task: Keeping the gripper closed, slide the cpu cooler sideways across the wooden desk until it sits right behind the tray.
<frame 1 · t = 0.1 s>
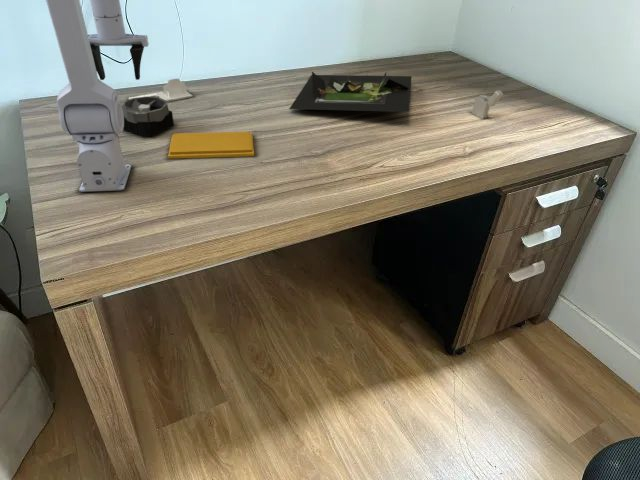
hand: (120, 78, 112), 10 cm above the table, tool pointing down, fingers open, 7 cm apart
cpu cooler: (148, 127, 115), on the table
tray: (212, 147, 108), on the table
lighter: (483, 118, 129), on the table
black plate with food: (354, 100, 135), on the table
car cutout: (161, 98, 130), on the table
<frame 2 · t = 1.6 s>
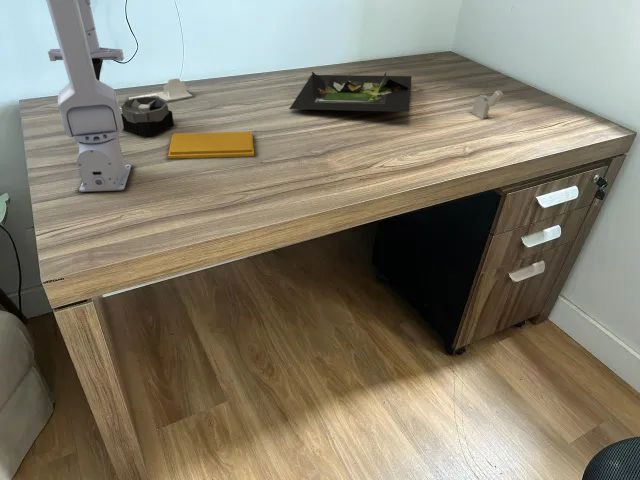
hand: (95, 93, 109), 8 cm above the table, tool pointing down, fingers closed
nothing on the table moved.
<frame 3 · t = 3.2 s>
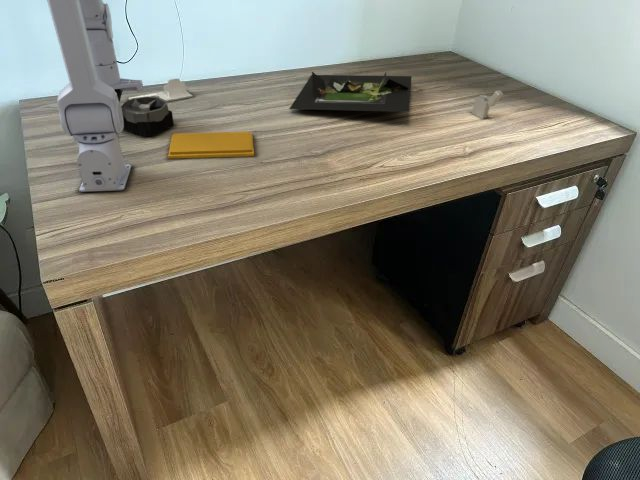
hand: (115, 121, 113), 2 cm above the table, tool pointing down, fingers closed
cpu cooler: (148, 127, 115), on the table, touching gripper
everything else where it was.
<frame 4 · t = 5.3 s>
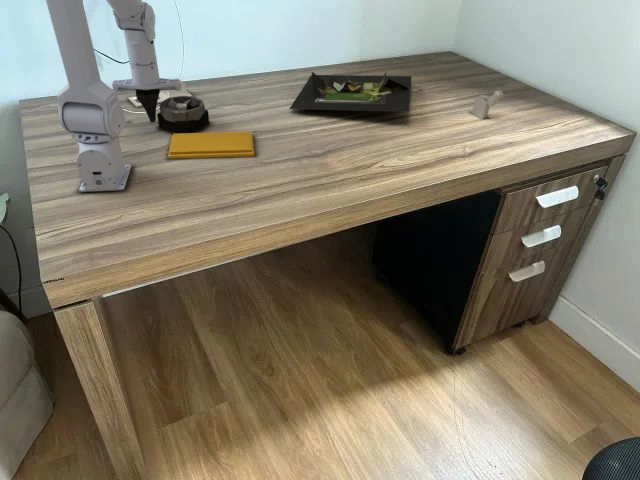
hand: (153, 120, 115), 2 cm above the table, tool pointing down, fingers closed
cpu cooler: (184, 126, 117), on the table, touching gripper
everything else where it was.
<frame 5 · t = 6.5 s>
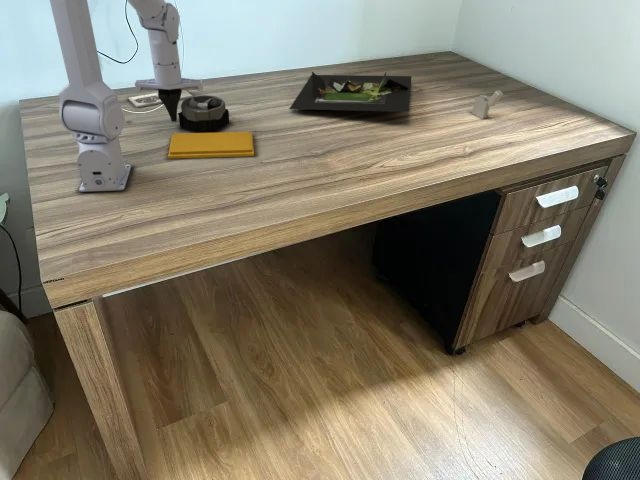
hand: (174, 120, 115), 2 cm above the table, tool pointing down, fingers closed
cpu cooler: (205, 126, 118), on the table, touching gripper
everything else where it was.
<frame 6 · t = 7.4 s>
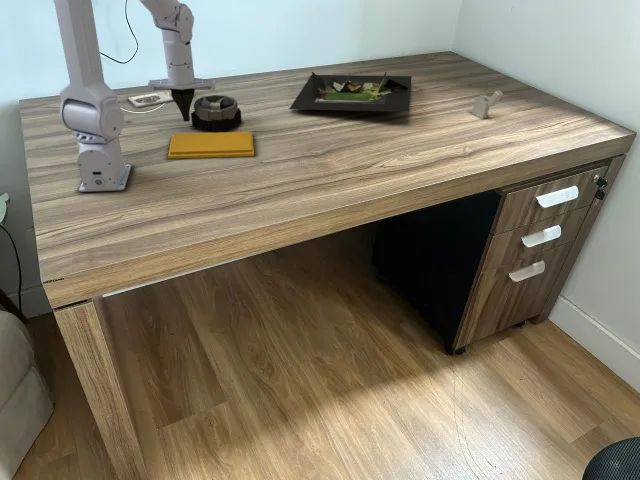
hand: (186, 119, 116), 2 cm above the table, tool pointing down, fingers closed
cpu cooler: (217, 125, 118), on the table, touching gripper
everything else where it was.
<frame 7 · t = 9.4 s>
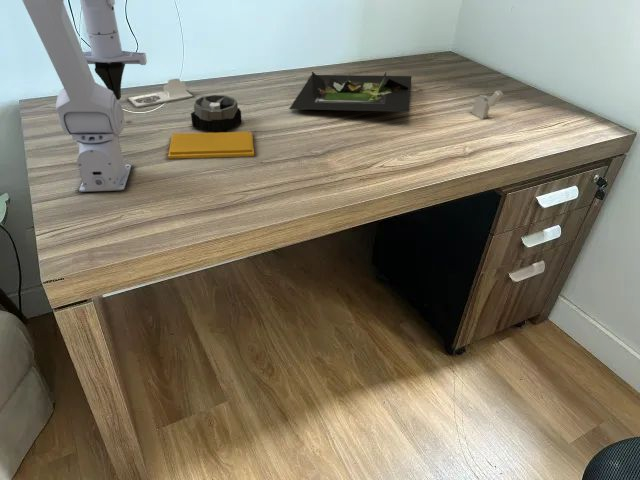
hand: (116, 98, 104), 9 cm above the table, tool pointing down, fingers closed
cpu cooler: (217, 125, 118), on the table
everything else where it was.
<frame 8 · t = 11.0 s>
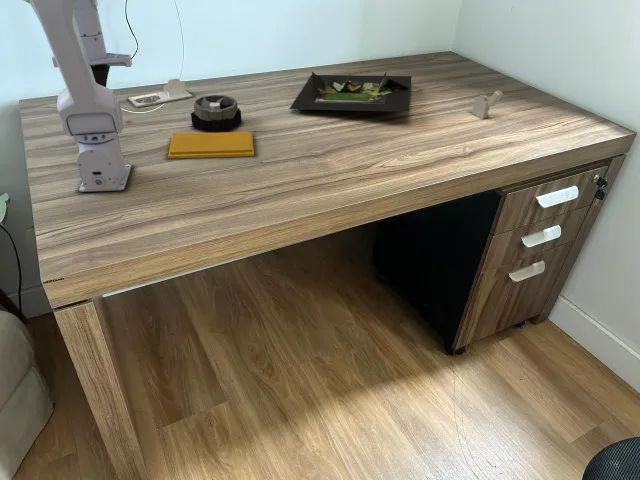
hand: (102, 100, 103), 9 cm above the table, tool pointing down, fingers closed
nothing on the table moved.
at the end: cpu cooler inside the target area on the table beside the tray (1.0 cm from its centre), on the table; cpu cooler moved 15.9 cm from its start; cpu cooler tilted 0° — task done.
